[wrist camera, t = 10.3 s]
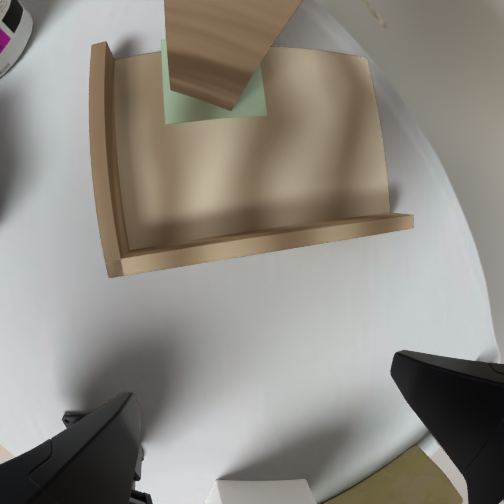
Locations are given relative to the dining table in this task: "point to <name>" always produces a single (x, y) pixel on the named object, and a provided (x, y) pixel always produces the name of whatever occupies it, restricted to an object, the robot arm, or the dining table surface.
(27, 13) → the supplement can
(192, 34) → the walnut block
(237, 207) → the tray
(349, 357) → the dining table surface
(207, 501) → the milk
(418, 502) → the cheese
